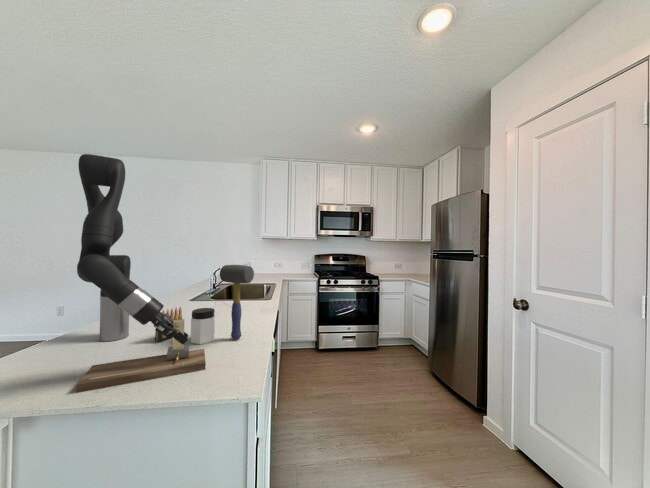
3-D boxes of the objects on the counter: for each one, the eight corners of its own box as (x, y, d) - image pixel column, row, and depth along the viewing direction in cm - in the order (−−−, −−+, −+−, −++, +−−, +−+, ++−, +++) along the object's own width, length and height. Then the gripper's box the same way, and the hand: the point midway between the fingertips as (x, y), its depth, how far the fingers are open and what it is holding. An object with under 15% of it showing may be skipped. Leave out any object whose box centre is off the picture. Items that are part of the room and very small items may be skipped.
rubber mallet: (254, 338, 108) (255, 264, 108) (243, 344, 101) (244, 265, 101) (229, 334, 112) (230, 263, 112) (216, 340, 105) (218, 264, 105)
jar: (185, 342, 102) (186, 311, 102) (201, 335, 110) (201, 307, 110) (204, 345, 99) (205, 313, 99) (219, 338, 107) (219, 308, 107)
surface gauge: (168, 353, 86) (169, 319, 87) (189, 350, 89) (189, 317, 89) (165, 365, 78) (166, 327, 78) (188, 361, 80) (189, 325, 81)
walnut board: (92, 372, 78) (92, 365, 78) (204, 354, 91) (204, 348, 91) (76, 392, 67) (76, 384, 67) (205, 369, 80) (205, 362, 80)
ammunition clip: (157, 343, 101) (158, 311, 101) (154, 342, 102) (155, 311, 102) (183, 334, 111) (183, 306, 111) (180, 334, 112) (181, 305, 112)
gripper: (148, 300, 76) (195, 337, 81) (155, 292, 88) (195, 325, 94) (125, 321, 73) (174, 358, 79) (135, 310, 86) (177, 342, 91)
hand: (185, 339), depth 86 cm, fingers closed on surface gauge, 3 cm apart
